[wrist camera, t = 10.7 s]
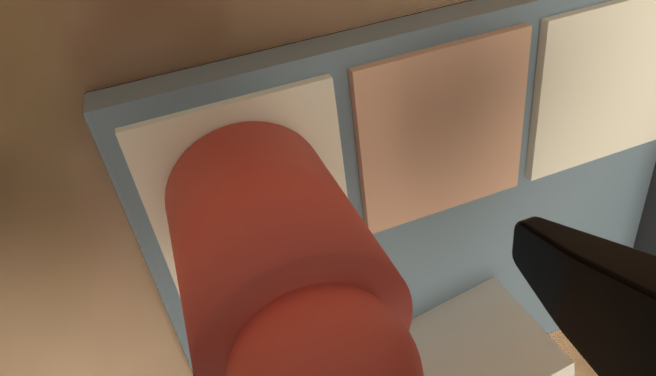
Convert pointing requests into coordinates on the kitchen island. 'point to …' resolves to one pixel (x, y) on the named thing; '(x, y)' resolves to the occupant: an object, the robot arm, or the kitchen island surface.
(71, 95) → the kitchen island surface
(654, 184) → the button housing
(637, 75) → the board
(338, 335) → the pawn
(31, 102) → the kitchen island surface
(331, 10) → the kitchen island surface
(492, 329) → the beige cube
